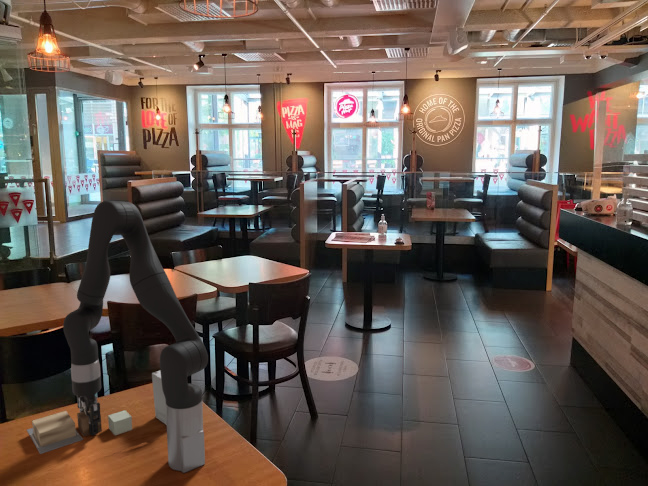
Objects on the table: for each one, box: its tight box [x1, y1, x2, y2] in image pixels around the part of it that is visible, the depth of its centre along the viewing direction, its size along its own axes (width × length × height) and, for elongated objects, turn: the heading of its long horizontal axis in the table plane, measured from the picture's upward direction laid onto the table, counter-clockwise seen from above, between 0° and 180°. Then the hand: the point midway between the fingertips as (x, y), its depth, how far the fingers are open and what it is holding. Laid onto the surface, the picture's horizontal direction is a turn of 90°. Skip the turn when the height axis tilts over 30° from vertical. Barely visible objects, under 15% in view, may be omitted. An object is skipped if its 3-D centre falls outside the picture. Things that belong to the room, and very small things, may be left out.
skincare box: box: [151, 370, 167, 426], centre depth 157 cm, size 8×6×15 cm
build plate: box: [26, 427, 84, 455], centre depth 147 cm, size 16×11×1 cm
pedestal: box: [31, 410, 77, 447], centre depth 146 cm, size 9×9×4 cm
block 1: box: [76, 411, 103, 438], centre depth 149 cm, size 5×5×6 cm
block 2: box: [107, 409, 133, 436], centre depth 150 cm, size 5×5×5 cm
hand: (90, 428), depth 149 cm, fingers open, 7 cm apart
